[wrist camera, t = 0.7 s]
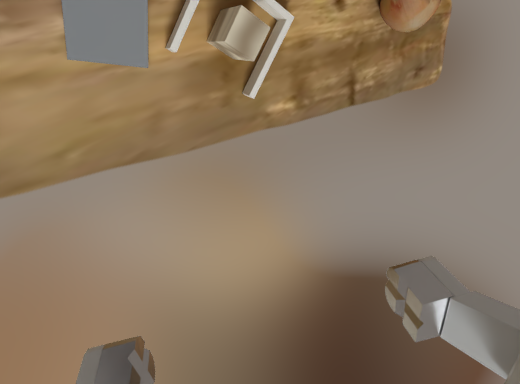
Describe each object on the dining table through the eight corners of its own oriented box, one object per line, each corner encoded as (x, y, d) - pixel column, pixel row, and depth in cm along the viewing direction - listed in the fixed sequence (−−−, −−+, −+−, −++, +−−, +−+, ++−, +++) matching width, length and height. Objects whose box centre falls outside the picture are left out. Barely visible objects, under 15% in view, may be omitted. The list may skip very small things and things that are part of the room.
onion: (375, 42, 62) (418, 43, 54) (363, -12, 56) (409, -20, 48) (410, 17, 64) (457, 14, 55) (402, -38, 58) (453, -51, 50)
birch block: (206, 41, 48) (224, 41, 42) (220, 10, 47) (241, 5, 41) (233, 58, 51) (254, 61, 45) (247, 29, 50) (270, 27, 44)
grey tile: (58, -31, 38) (58, -32, 37) (146, -12, 42) (147, -13, 42) (67, 59, 42) (67, 59, 41) (147, 67, 46) (148, 67, 45)
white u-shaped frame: (165, 48, 46) (169, 48, 44) (206, -48, 44) (213, -53, 41) (246, 96, 55) (254, 98, 52) (284, 18, 52) (294, 17, 50)
